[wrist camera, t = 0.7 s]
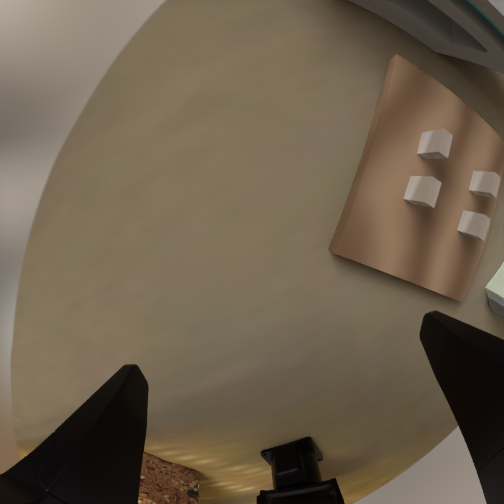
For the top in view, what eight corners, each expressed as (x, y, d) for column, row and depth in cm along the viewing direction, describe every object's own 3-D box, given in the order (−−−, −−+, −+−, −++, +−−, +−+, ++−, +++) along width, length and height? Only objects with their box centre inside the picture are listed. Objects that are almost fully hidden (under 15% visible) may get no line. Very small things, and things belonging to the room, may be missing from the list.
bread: (171, 502, 33) (165, 543, 23) (117, 483, 32) (104, 522, 22) (205, 469, 29) (199, 526, 20) (132, 443, 28) (112, 499, 18)
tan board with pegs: (498, 144, 19) (526, 144, 15) (453, 297, 23) (479, 314, 19) (388, 59, 18) (413, 41, 13) (328, 248, 22) (347, 265, 17)
